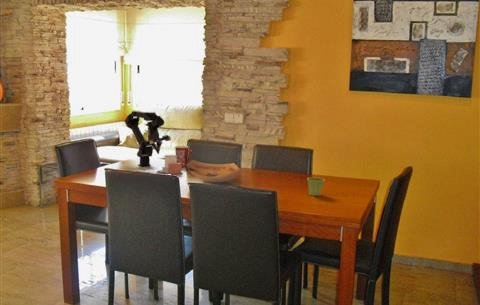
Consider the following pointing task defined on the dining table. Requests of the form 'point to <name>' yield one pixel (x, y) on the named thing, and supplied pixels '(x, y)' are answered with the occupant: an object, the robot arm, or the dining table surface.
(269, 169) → the dining table surface
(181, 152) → the mug
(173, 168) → the housing
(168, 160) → the pale beige block
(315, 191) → the plant pot
